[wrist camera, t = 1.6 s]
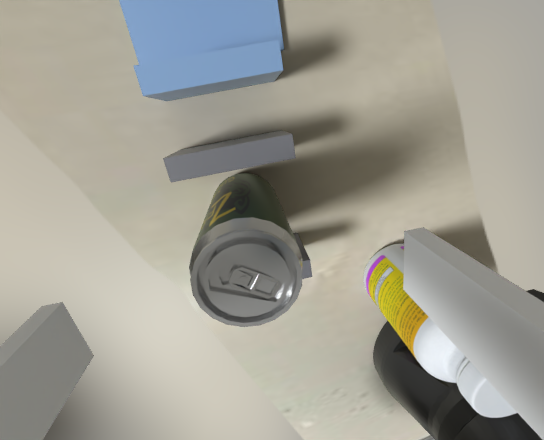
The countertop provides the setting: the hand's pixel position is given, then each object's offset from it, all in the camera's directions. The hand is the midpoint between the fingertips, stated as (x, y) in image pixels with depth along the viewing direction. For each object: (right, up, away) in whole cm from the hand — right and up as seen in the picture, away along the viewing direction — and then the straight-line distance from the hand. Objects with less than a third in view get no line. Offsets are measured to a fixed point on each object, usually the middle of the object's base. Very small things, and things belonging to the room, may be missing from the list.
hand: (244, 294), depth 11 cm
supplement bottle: (+13, -2, +17) cm, 21 cm away
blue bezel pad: (-4, +17, +7) cm, 19 cm away
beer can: (-1, +4, +13) cm, 14 cm away
